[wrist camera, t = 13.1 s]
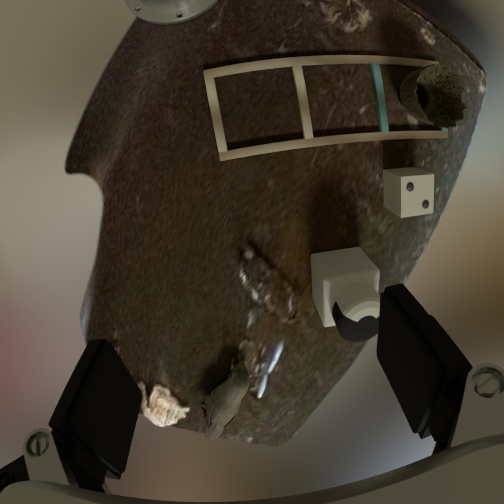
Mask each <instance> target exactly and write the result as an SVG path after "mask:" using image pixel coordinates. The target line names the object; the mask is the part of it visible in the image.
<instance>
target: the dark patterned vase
mask: <svg viewBox="0 0 504 504" xmlns="http://www.w3.org/2000/svg"><path fill="white" fill-rule="evenodd" d="M449 71H450V69H449V68H442V65H440V64H436V65H435V64H432V65H428V66H425V67H423V68H421V69H418V70H416V71H414V72H412V73H410V74H409V75H408V76H406V77H405V78H404V80H403V82H402V84H401V87H400V91H399V100H400V102H401V104H402V105H403V106H404V108H405V110H406V111H407V112H408V113H409V114H410V115H411V116H412V117H414V118H415V119H417V120H419V121H422V122H424V123H427V124H431V125H434V126H437V127H440V128H446V129H449V126H452V127H455V126H456V122H459V121H461V120H463V118H464V115H463V111H465V110H466V108H467V107H466V105H465V104H464V103H463V102H462V103H463V104H462V103H461V100H462V97H461V94H462V93H464V89H463V88H462V87H461V86H460V80H459V78H458V77H457V76H456V75H454V74H452V73H450V72H449Z"/></svg>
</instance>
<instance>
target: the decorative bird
mask: <svg viewBox="0 0 504 504" xmlns="http://www.w3.org/2000/svg"><path fill="white" fill-rule="evenodd" d="M249 382H250V379H249V374H248V371H247V367H246V366H245V364H244V363H243V361H240V362H239V363H238V364H237V365H236V366H235V368H234V369H233V371H232V373H231V374H230V375H229V377H228V379H227V380H226V381H225V382H223V383H222V384H221V385H219V386H218V387H216V388H215V389H214V390H213V391H212V393H211V395H210V397H209V400H208V403H207V406H206V409H204V408H203V407H202V406H201V407H202V409H203V411H204V419H205V417H206V425H207V426H208V429H207V430H206V434H205V437H206V438H208V439H209V440H211V441H213V440H214V439H217V438H218V436H220V434H221V432H222V430H223V429H224V428H225V427H227V426H228V425H230V424H231V423H232V422H233V420H234V419H235V417H236V416H237V414H238V411H239V408H240V404H241V399H242V398H243V397H244V395H245V394H246V392H247V389H248V386H249ZM223 427H224V428H223Z"/></svg>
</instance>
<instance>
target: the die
mask: <svg viewBox="0 0 504 504" xmlns="http://www.w3.org/2000/svg"><path fill="white" fill-rule="evenodd" d="M383 192H384V207H386V208H387V209H389V210H390V211H392V212H393V213H395V214H396V215H398V216H399V217H401V218H403V217H410V216H417V215H424V214H430V213H433V201H434V174H432V173H429V172H426V171H423V170H420V169H418V168H415V167H409V168H396V169H384V170H383Z"/></svg>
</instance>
